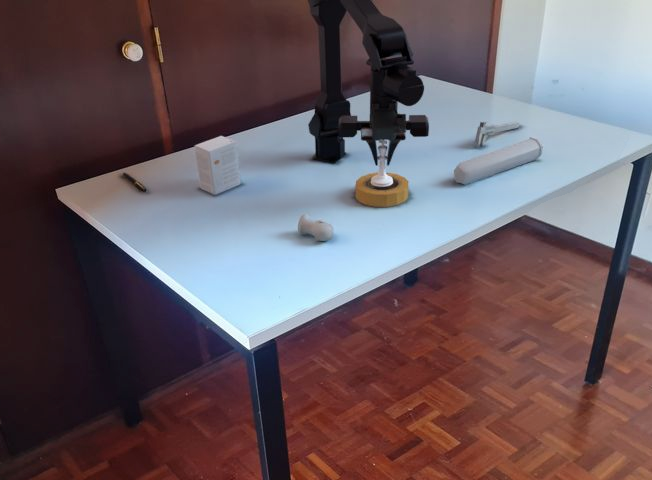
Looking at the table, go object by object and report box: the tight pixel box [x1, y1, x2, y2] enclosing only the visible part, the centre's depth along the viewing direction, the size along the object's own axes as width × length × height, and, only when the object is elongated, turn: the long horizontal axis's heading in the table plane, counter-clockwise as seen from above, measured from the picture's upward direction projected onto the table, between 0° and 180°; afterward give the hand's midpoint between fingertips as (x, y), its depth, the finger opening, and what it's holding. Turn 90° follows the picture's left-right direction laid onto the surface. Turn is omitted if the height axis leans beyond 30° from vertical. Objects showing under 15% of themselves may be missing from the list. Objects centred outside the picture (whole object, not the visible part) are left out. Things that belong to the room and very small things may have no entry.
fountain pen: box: [121, 171, 147, 193], centre depth 167 cm, size 14×1×2 cm, turn 35°
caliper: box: [474, 121, 522, 148], centre depth 182 cm, size 20×1×6 cm, turn 137°
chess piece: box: [371, 140, 393, 187], centre depth 153 cm, size 5×5×10 cm
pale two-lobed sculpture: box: [297, 213, 335, 242], centre depth 143 cm, size 4×8×5 cm
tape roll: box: [355, 172, 410, 208], centre depth 157 cm, size 12×12×3 cm
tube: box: [453, 136, 544, 186], centre depth 165 cm, size 5×5×25 cm
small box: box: [194, 135, 242, 196], centre depth 162 cm, size 8×6×10 cm
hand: (382, 164), depth 154 cm, fingers closed on chess piece, 2 cm apart
